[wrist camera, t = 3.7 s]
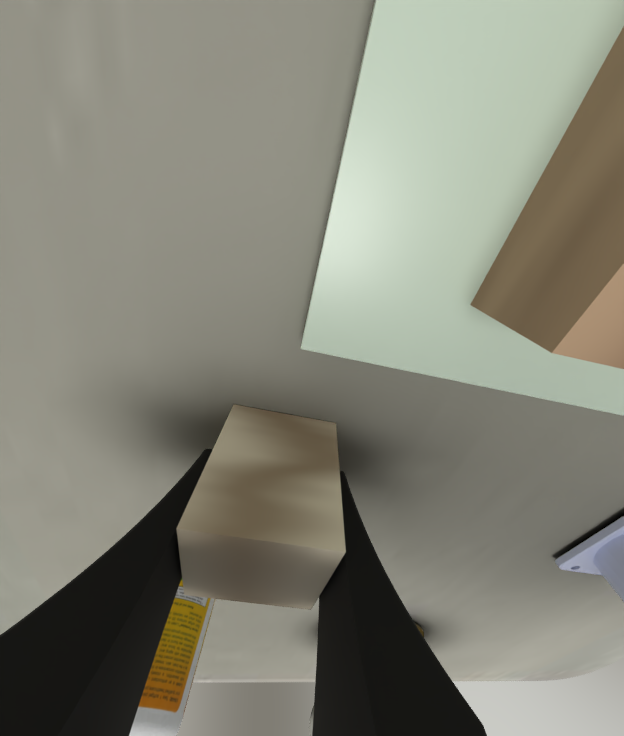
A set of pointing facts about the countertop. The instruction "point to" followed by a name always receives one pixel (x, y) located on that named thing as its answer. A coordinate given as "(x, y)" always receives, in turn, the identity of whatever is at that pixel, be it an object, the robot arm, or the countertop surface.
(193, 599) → the supplement bottle
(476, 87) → the baseplate
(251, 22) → the countertop surface
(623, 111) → the base block
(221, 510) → the maple brick
